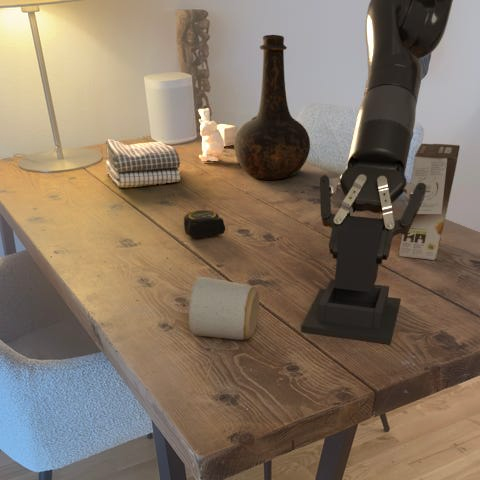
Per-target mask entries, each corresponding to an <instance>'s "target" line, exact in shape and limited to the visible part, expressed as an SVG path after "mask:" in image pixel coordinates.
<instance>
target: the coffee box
mask: <svg viewBox="0 0 480 480" xmlns="http://www.w3.org/2000/svg"><path fill="white" fill-rule="evenodd" d="M460 147H461V146H460V145H459V144H445V143H421V144H420V145H419V146H418V149H417V150H416V152H415V154H414V159H413V166H412V172H411V173H412V174H411V178H410V179H411V180H410V183H411V184H414V185H417V184H419V183H424V184H425V185H426V191H425V197H424V200H423V202H422V204H421V206H420V208H419V210H418V213H417V215H416V217H415V219H414V221H413V223H412V225H411V228H410V230H409V232H408V233H407V234H405V235H403V234H401V238H400V246H399V252H398V256H399V257H402V258H412V259H413V258H414V259H421V260H429V261H435V260H436V258H437V255H438V251H439V247H440V243H441V239H442V235H443V234H442V233H443V231H444V226H445V223H446V216H447V212H448V208H449V203H450V198H451V193H452V188H453V183H454V178H455V175H456V169H457V163H458V158H459V153H460ZM406 203H407V204H406V206H407V205H408V202H406Z"/></svg>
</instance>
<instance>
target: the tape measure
mask: <svg viewBox="0 0 480 480" xmlns="http://www.w3.org/2000/svg"><path fill="white" fill-rule="evenodd" d="M183 228H184V229H183V230H184V232H185V235H187V236H189V237H190V238H193V239H207V238H209V237H212V236H219V235H223V234H224V233H225V231H226V225H225V222H224V219H223V218H222V217H220V216H219V214H218V213H217V212H216V211H213V210H209V209H198V210H193V211H190V212H188V213H186V214H185V215H184V218H183Z"/></svg>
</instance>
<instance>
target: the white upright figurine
mask: <svg viewBox="0 0 480 480" xmlns="http://www.w3.org/2000/svg"><path fill="white" fill-rule="evenodd" d="M197 111H198V114H199V116H200V117H201V118H199V119H198V122H199V123H200V126H199V129H200V130H199V131H200V132H199V135H200V136H201V138H202V139H201V150H202V154H199V155H198V158H199V159H200V160H201V162H202V161H207V160H211V161H218V162H219V156H220V155H221V154H222V153H223V152H224V150H225V148H224V140H223V138H222V136H221V134H220V131H219V130H218V129H217V125H218V124H217V122H216V121H214V120H211V112H210V111H211V109H210V108H209V107H206V108H199V109H198V110H197Z"/></svg>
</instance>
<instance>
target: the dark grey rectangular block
mask: <svg viewBox="0 0 480 480" xmlns="http://www.w3.org/2000/svg"><path fill="white" fill-rule="evenodd" d="M382 230H384V220H383V219H381V218H378V217H377V218H376V217H369V216H356V215H354V216H347V217H346V218H345V220H344V222H343V224H342V226H341V228H340V232H339V243H338V253H337V259H336V265H335V274H334V280H335V283H334V288H338V289H346V290H354V291H362V292H370V293H372V290H373V287H374V284H375V285H376V280H377V279H378V272H379V265H380V264H377V253H378V248H379V244H380V239H381V234H382Z"/></svg>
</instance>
